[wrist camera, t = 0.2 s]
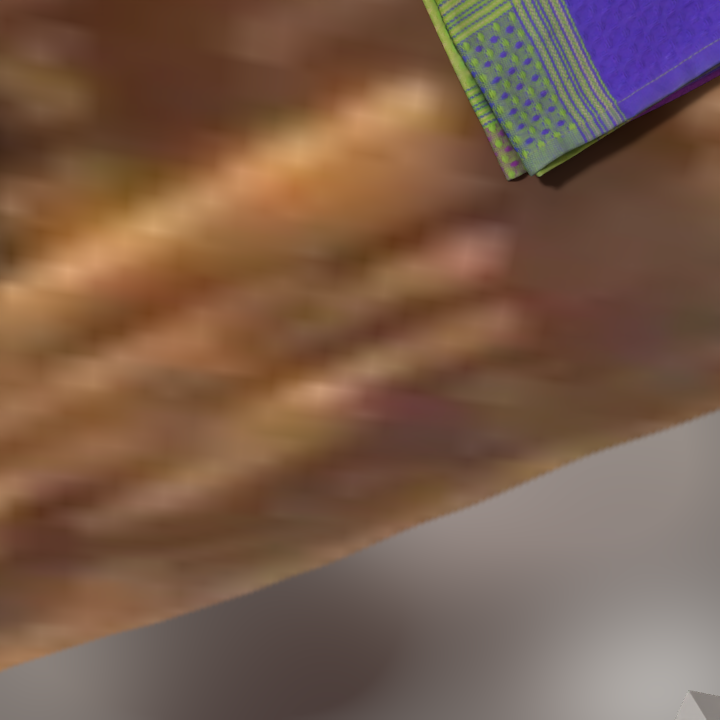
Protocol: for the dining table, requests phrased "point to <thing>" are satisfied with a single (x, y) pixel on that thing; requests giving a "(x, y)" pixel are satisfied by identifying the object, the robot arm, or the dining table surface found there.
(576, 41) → the dish towel
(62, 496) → the dining table surface
